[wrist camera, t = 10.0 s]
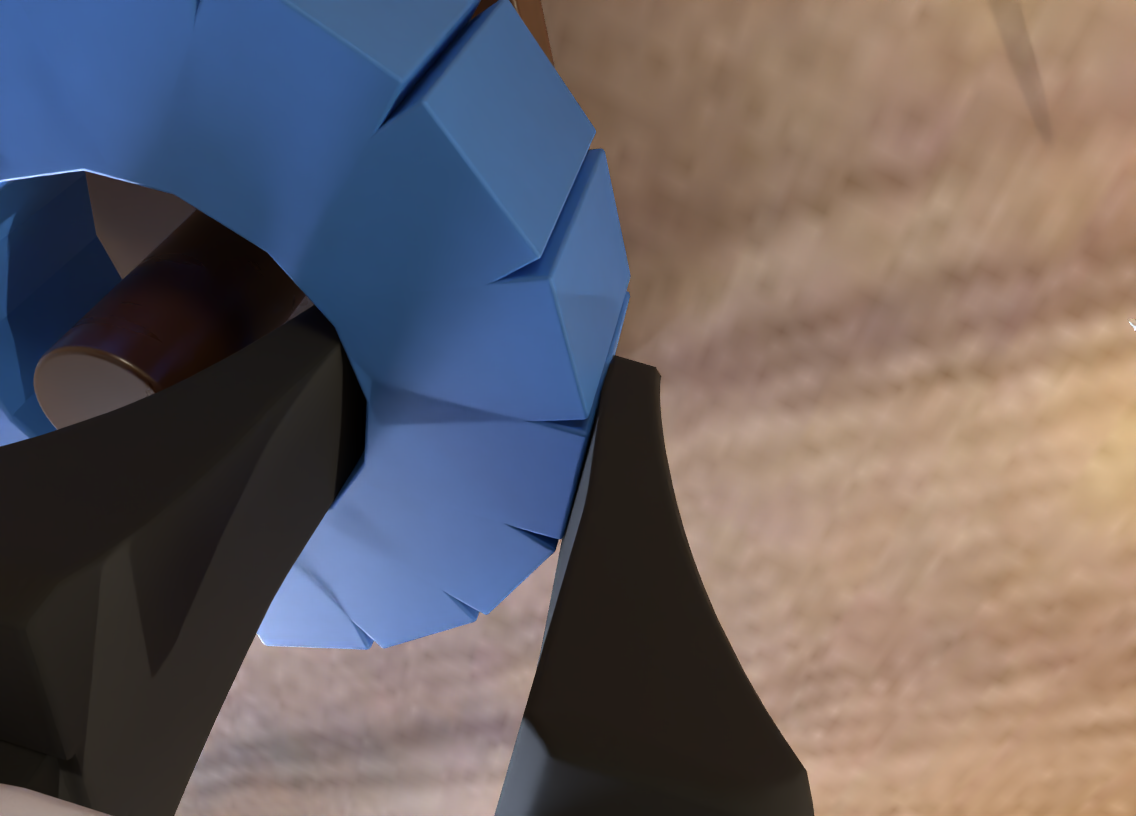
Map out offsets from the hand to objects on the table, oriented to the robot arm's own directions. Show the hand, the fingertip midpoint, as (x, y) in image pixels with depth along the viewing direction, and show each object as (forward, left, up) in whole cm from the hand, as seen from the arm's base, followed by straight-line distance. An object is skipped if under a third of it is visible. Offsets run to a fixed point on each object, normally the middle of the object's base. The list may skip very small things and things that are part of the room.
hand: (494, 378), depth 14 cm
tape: (-4, +2, -1) cm, 4 cm away
